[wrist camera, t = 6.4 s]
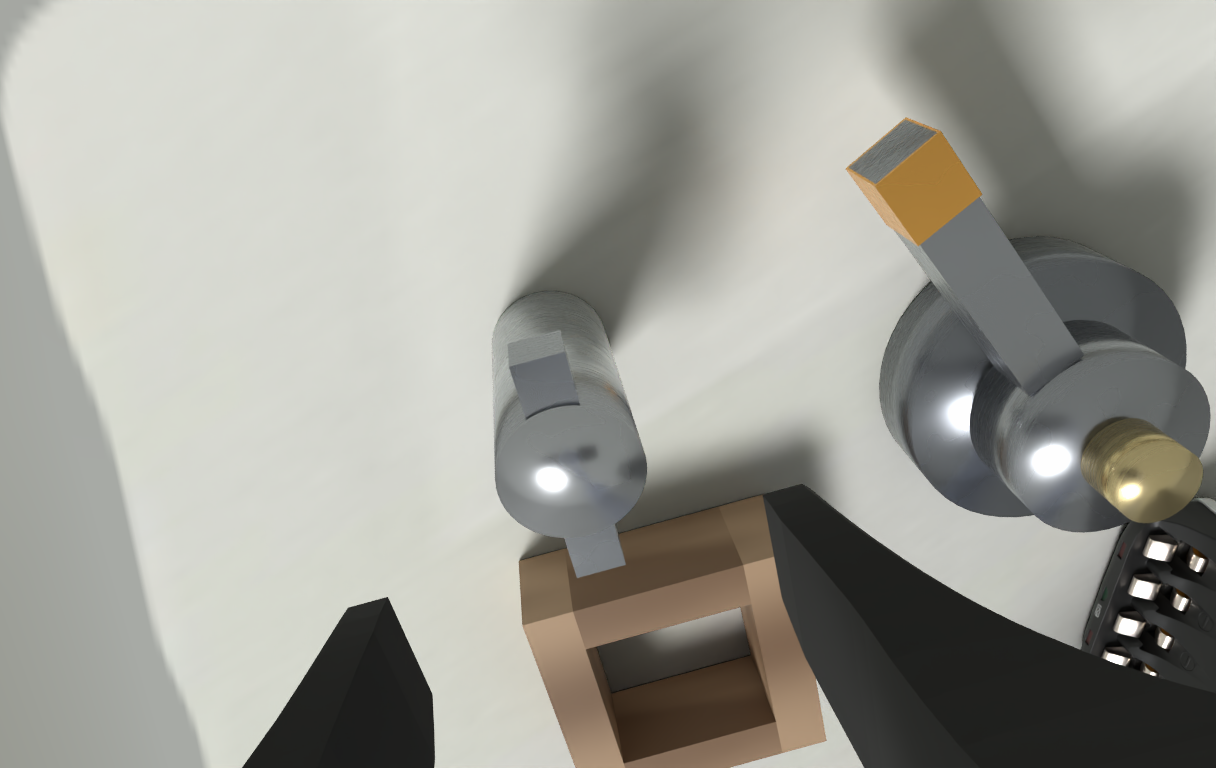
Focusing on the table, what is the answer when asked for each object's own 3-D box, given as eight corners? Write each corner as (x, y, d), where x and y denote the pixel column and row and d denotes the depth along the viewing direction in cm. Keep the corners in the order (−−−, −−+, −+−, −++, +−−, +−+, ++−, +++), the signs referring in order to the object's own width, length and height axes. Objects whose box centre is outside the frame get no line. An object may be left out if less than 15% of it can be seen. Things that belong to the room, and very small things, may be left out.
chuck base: (1127, 439, 25) (1302, 571, 20) (891, 504, 25) (1001, 654, 20) (1138, 204, 22) (1350, 287, 17) (866, 278, 22) (991, 385, 16)
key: (626, 412, 23) (671, 555, 17) (521, 441, 23) (533, 593, 17) (581, 238, 20) (616, 340, 15) (464, 269, 20) (457, 383, 15)
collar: (1021, 511, 23) (1072, 564, 21) (784, 213, 18) (821, 244, 16) (1171, 404, 22) (1239, 449, 20) (960, 64, 17) (1020, 79, 16)
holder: (797, 674, 28) (826, 740, 25) (581, 733, 27) (589, 806, 25) (764, 493, 24) (793, 551, 22) (518, 561, 24) (522, 625, 22)
